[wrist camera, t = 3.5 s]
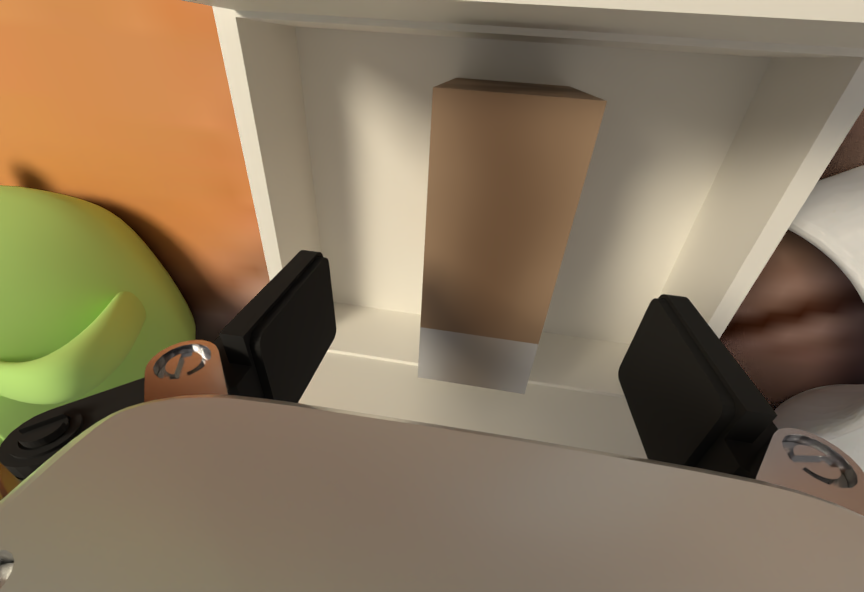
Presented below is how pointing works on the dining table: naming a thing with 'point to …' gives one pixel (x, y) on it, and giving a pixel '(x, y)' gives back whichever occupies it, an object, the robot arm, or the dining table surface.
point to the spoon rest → (860, 261)
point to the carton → (601, 194)
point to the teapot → (76, 303)
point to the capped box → (498, 223)
